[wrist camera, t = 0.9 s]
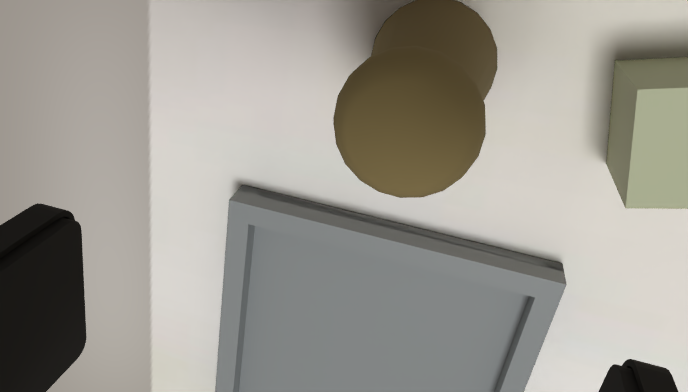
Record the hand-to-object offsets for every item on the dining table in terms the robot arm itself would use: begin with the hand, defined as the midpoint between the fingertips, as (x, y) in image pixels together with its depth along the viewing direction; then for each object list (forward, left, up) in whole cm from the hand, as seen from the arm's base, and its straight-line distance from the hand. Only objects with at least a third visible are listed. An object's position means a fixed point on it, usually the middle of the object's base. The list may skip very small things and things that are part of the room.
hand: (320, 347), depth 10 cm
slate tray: (+19, 0, -21) cm, 28 cm away
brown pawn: (0, 0, -21) cm, 21 cm away
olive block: (0, +11, -21) cm, 24 cm away
